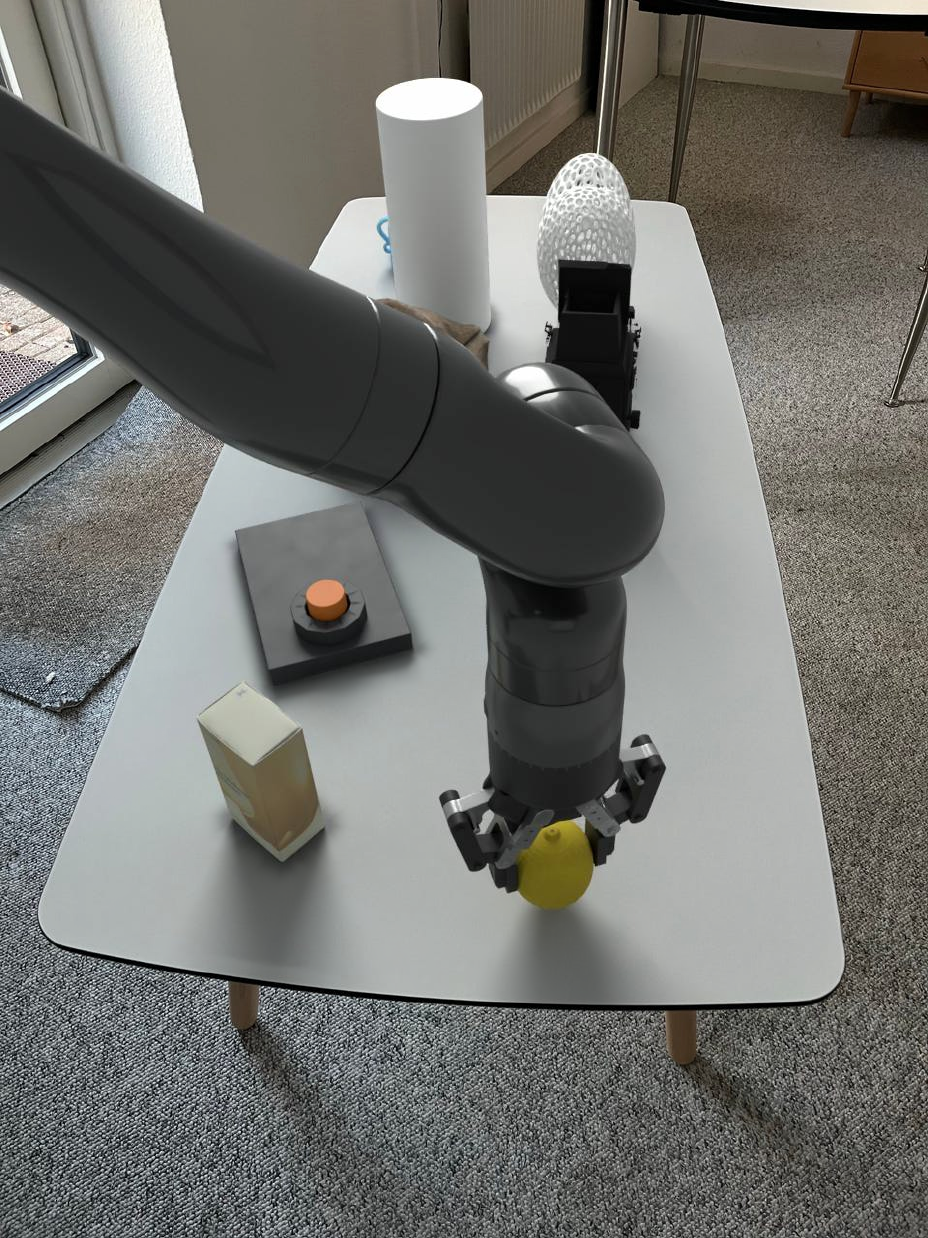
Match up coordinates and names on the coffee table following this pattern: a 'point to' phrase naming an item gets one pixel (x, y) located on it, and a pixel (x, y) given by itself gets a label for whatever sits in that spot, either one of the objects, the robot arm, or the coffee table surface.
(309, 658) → the dark grey base plate
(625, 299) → the camera
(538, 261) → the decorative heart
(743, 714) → the coffee table surface
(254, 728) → the cosmetic box
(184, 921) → the coffee table surface
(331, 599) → the button
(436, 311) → the tall pillar cylinder
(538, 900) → the lemon
